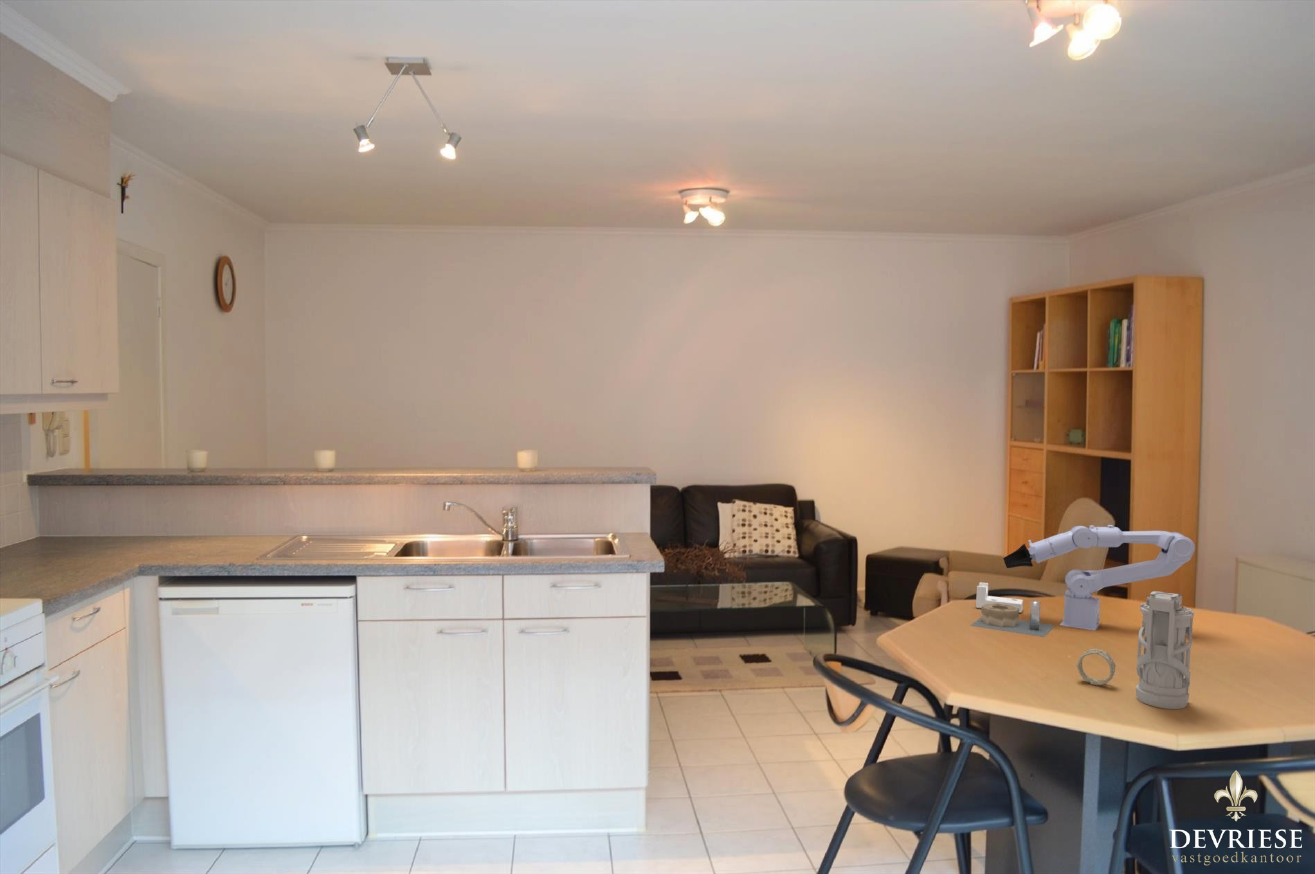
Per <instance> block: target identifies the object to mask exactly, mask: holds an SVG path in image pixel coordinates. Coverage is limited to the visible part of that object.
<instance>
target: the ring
mask: <svg viewBox="0 0 1315 874" xmlns="http://www.w3.org/2000/svg"><path fill="white" fill-rule="evenodd" d="M980 609H981V610H980V611H981V612H980V614H981V615H980V618H981V622H984V623H986V624H988V625H993V626H1000V627H1015V626H1016V625H1017V624H1018V620H1019V615H1020V613H1019V608H1017V607H1014V606H1012V605H1006V604H999V603H989V604H984V605H982V607H981V608H980Z"/></svg>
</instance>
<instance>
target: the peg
mask: <svg viewBox="0 0 1315 874" xmlns="http://www.w3.org/2000/svg"><path fill="white" fill-rule="evenodd" d="M1029 604H1030V607H1029V608H1030V609H1029V621H1030V625H1029V629H1030V630H1034V631H1038V630H1039V623H1041V622H1040V621H1041V620H1040V619H1041V617H1040V616H1041V601H1039V600H1030V603H1029Z"/></svg>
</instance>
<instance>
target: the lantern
mask: <svg viewBox="0 0 1315 874" xmlns="http://www.w3.org/2000/svg"><path fill="white" fill-rule="evenodd" d="M1149 594H1150V596H1147V597H1146V600H1145V602H1142V603H1141V604H1140V605H1139V611H1140V612H1141V613H1142V623H1141V627H1140V629H1139V630H1138V640H1137V641H1138V642H1137V655H1136V656H1137V657H1136V658H1137V659H1136V673H1137V675H1138V677H1139V680H1138V684H1136V686H1135V695H1136V699H1137V700H1138V701H1139V702H1140V703H1143V704H1145V705H1147V706H1151V707H1156V708H1161V709H1167V710H1180V709H1184V708H1186V707H1187V705H1188V703H1189V697H1190V694H1189V687H1190V683H1191V671H1190V666H1191V664H1190V663H1191V648H1192V644H1193V624H1194V623H1193V621H1194V614H1195V611H1194V610H1193V609H1191V608H1190V607H1186V606H1184V605H1183V606H1182V603H1183V602H1182V601H1183V595H1182V594H1179V593H1173V592H1172V593H1171V592H1169V593H1168V592H1163V591H1157V590H1155V591H1151V592H1150V593H1149ZM1143 636H1144V638H1143ZM1186 637H1188V640H1187V638H1186ZM1186 640H1187V641H1186ZM1142 647H1143V654H1142Z"/></svg>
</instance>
